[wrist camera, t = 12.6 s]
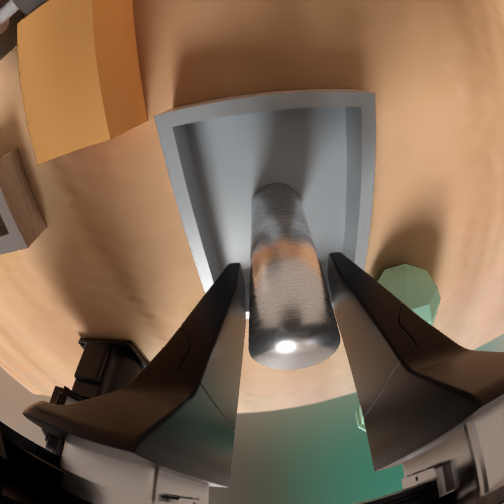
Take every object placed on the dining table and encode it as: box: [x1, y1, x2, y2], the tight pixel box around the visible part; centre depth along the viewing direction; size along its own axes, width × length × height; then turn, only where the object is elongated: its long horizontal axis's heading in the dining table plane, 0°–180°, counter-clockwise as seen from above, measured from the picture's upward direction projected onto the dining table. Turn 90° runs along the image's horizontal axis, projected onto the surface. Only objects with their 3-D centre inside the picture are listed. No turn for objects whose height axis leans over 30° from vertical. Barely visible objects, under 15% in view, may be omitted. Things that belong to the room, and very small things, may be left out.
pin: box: [249, 183, 340, 370], centre depth 10 cm, size 2×2×8 cm
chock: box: [17, 0, 148, 165], centre depth 8 cm, size 7×4×4 cm, turn 5°
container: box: [356, 264, 441, 432], centre depth 21 cm, size 6×6×25 cm
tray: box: [154, 89, 376, 319], centre depth 13 cm, size 11×8×2 cm
